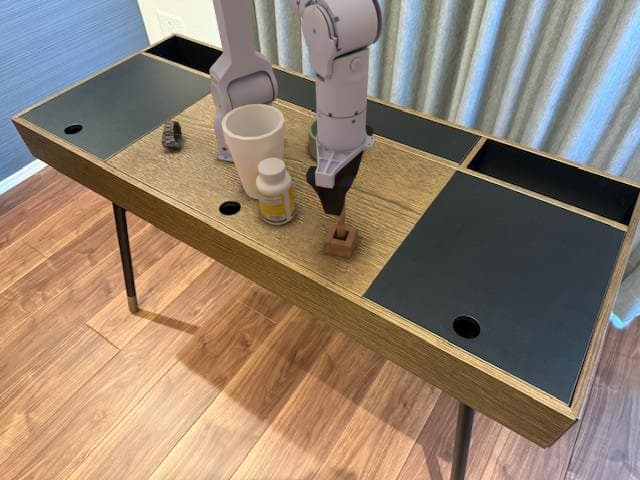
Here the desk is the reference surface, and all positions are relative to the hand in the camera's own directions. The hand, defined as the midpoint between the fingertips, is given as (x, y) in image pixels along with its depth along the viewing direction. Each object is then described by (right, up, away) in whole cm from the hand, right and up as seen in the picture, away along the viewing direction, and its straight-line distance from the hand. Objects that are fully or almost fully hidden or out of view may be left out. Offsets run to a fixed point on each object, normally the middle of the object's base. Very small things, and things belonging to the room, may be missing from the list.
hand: (341, 193), depth 65 cm
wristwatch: (-30, +11, +26) cm, 41 cm away
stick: (0, -7, +8) cm, 10 cm away
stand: (0, -7, +8) cm, 10 cm away
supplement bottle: (-10, -2, +13) cm, 16 cm away
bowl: (0, +10, +24) cm, 26 cm away
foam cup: (-12, +3, +17) cm, 22 cm away
